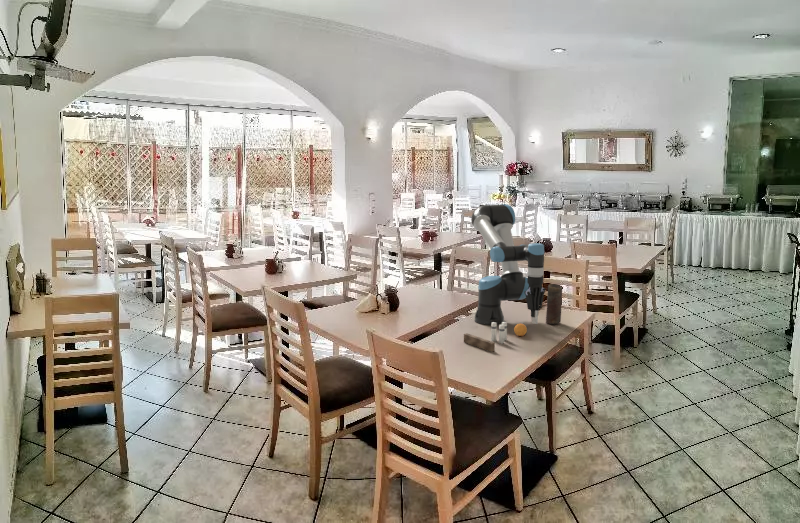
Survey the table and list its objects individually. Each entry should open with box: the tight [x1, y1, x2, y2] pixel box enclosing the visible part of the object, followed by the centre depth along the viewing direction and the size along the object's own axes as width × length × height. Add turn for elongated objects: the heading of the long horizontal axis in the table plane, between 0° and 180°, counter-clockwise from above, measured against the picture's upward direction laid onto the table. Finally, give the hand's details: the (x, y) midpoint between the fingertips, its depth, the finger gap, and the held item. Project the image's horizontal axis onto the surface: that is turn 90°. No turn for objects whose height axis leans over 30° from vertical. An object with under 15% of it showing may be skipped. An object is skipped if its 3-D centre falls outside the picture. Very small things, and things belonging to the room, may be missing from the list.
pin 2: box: [498, 324, 505, 345], centre depth 273 cm, size 2×2×8 cm
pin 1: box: [490, 322, 498, 342], centre depth 277 cm, size 2×2×8 cm
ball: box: [513, 323, 528, 337], centre depth 284 cm, size 6×6×6 cm
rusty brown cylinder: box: [545, 283, 563, 325], centre depth 303 cm, size 8×7×20 cm
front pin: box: [501, 321, 508, 342], centre depth 278 cm, size 2×2×8 cm
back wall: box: [463, 333, 496, 353], centre depth 269 cm, size 18×2×4 cm, turn 36°
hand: (534, 323), depth 289 cm, fingers closed
